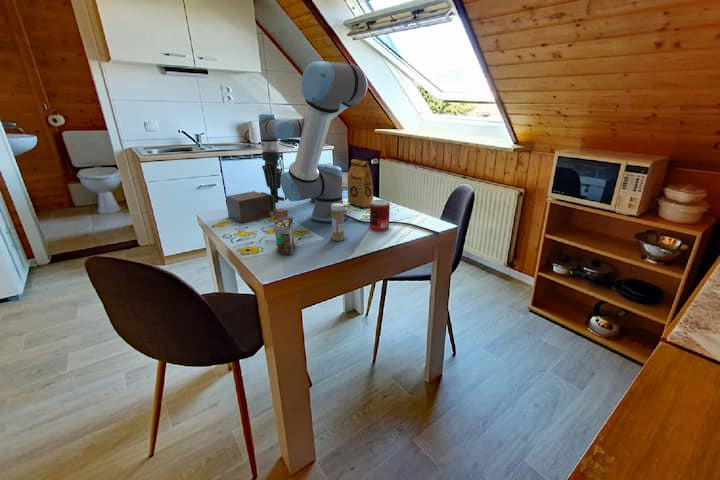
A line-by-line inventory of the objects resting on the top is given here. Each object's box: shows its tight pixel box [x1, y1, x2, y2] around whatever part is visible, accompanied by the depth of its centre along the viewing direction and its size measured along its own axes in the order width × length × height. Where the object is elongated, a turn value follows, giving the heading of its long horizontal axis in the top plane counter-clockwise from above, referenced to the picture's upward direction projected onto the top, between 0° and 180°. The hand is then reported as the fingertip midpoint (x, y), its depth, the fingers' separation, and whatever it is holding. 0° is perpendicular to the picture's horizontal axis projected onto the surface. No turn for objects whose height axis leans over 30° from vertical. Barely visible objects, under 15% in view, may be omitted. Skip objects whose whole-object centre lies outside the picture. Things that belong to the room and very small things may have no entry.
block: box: [274, 208, 289, 220], centre depth 150 cm, size 4×4×4 cm
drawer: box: [259, 191, 285, 214], centre depth 157 cm, size 18×10×8 cm, turn 136°
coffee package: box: [347, 159, 374, 209], centre depth 169 cm, size 10×12×22 cm
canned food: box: [369, 199, 391, 232], centre depth 138 cm, size 8×8×11 cm
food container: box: [272, 216, 295, 256], centre depth 117 cm, size 12×6×10 cm, turn 5°
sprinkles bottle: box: [331, 203, 345, 242], centre depth 126 cm, size 5×5×13 cm
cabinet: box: [225, 190, 271, 224], centre depth 152 cm, size 14×12×10 cm
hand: (275, 202), depth 161 cm, fingers closed
